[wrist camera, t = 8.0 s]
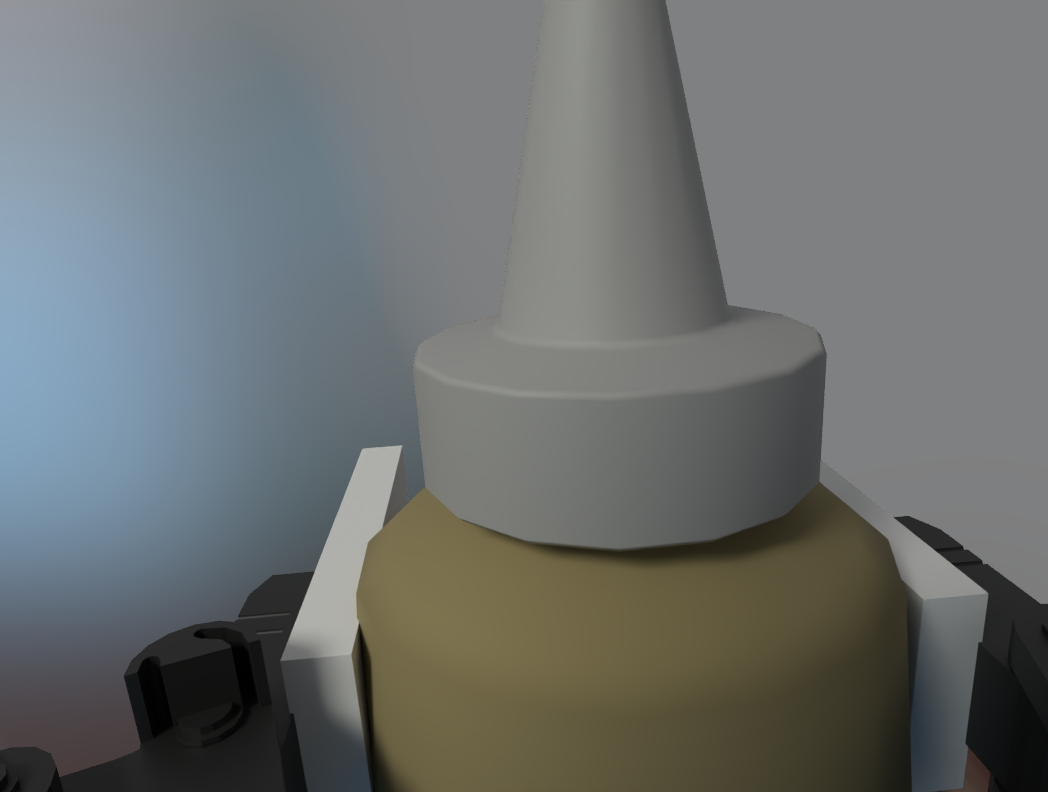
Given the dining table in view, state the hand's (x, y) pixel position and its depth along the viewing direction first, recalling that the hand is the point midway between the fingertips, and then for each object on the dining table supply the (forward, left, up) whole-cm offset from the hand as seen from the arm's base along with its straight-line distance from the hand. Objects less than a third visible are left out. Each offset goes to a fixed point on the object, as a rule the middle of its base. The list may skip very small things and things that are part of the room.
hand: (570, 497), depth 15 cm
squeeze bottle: (0, +5, -10) cm, 11 cm away
